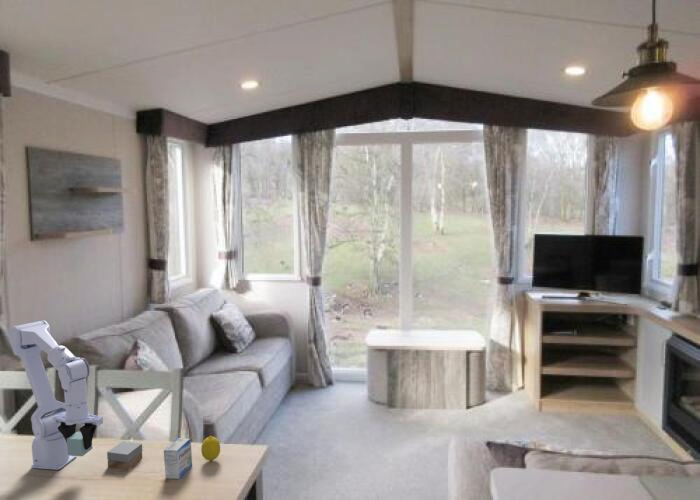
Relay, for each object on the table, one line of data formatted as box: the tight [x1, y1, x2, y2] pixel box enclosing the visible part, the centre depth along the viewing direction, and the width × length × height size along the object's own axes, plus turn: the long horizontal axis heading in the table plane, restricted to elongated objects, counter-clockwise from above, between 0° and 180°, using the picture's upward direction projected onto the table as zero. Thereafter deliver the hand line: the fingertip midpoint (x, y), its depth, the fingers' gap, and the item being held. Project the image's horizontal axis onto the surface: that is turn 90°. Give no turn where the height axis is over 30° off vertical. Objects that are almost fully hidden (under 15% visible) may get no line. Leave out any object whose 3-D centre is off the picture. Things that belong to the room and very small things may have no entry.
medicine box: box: [163, 437, 193, 480], centre depth 154 cm, size 8×4×9 cm, turn 168°
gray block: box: [106, 441, 143, 463], centre depth 160 cm, size 7×7×2 cm
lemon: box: [200, 435, 221, 462], centre depth 160 cm, size 6×6×8 cm
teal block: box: [67, 431, 93, 457], centre depth 152 cm, size 4×4×5 cm
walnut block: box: [107, 451, 143, 470], centre depth 161 cm, size 7×7×2 cm
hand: (80, 447), depth 152 cm, fingers closed on teal block, 4 cm apart
